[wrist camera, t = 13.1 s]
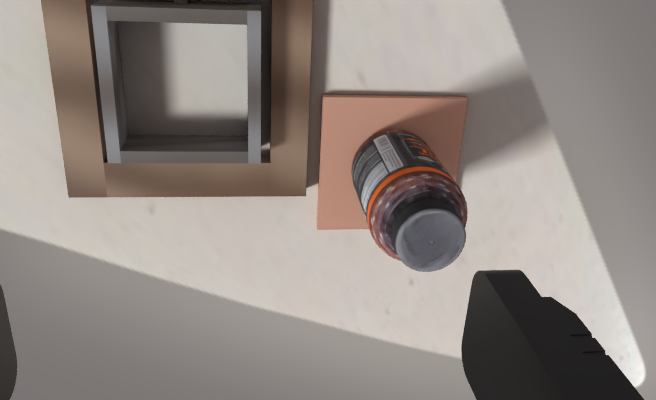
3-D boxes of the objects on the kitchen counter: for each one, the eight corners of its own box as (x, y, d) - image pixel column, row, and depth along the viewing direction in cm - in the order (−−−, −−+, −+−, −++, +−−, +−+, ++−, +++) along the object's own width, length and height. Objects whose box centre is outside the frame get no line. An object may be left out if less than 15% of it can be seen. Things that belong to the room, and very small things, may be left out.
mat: (322, 94, 42) (323, 97, 42) (465, 96, 44) (468, 99, 43) (316, 225, 47) (317, 229, 46) (446, 224, 48) (449, 227, 47)
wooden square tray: (38, -61, 36) (22, -58, 34) (312, -49, 38) (317, -46, 36) (73, 190, 43) (61, 209, 41) (304, 189, 45) (308, 207, 43)
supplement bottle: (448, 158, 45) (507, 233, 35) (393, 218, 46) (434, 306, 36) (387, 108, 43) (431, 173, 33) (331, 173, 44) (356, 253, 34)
